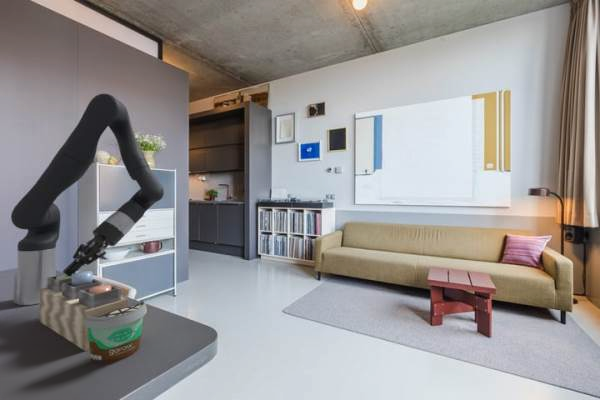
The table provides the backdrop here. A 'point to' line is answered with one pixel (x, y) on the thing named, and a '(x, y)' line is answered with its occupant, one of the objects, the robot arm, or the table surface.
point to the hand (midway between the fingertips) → (66, 274)
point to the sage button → (63, 277)
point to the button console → (76, 307)
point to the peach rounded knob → (99, 289)
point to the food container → (115, 333)
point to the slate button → (82, 278)
